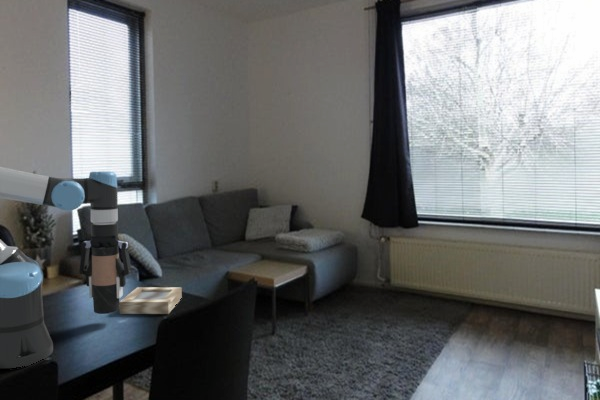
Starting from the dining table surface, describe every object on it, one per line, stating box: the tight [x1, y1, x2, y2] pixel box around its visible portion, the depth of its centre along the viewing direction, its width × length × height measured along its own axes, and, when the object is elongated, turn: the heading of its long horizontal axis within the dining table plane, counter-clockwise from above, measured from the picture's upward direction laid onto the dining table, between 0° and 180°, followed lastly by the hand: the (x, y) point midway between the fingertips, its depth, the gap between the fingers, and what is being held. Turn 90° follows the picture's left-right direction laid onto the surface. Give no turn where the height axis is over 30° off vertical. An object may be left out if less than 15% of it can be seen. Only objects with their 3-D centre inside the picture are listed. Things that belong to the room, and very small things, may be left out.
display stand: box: [119, 286, 183, 315], centre depth 152 cm, size 16×16×4 cm
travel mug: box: [91, 245, 120, 315], centre depth 135 cm, size 8×8×20 cm
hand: (106, 296), depth 135 cm, fingers closed on travel mug, 8 cm apart
